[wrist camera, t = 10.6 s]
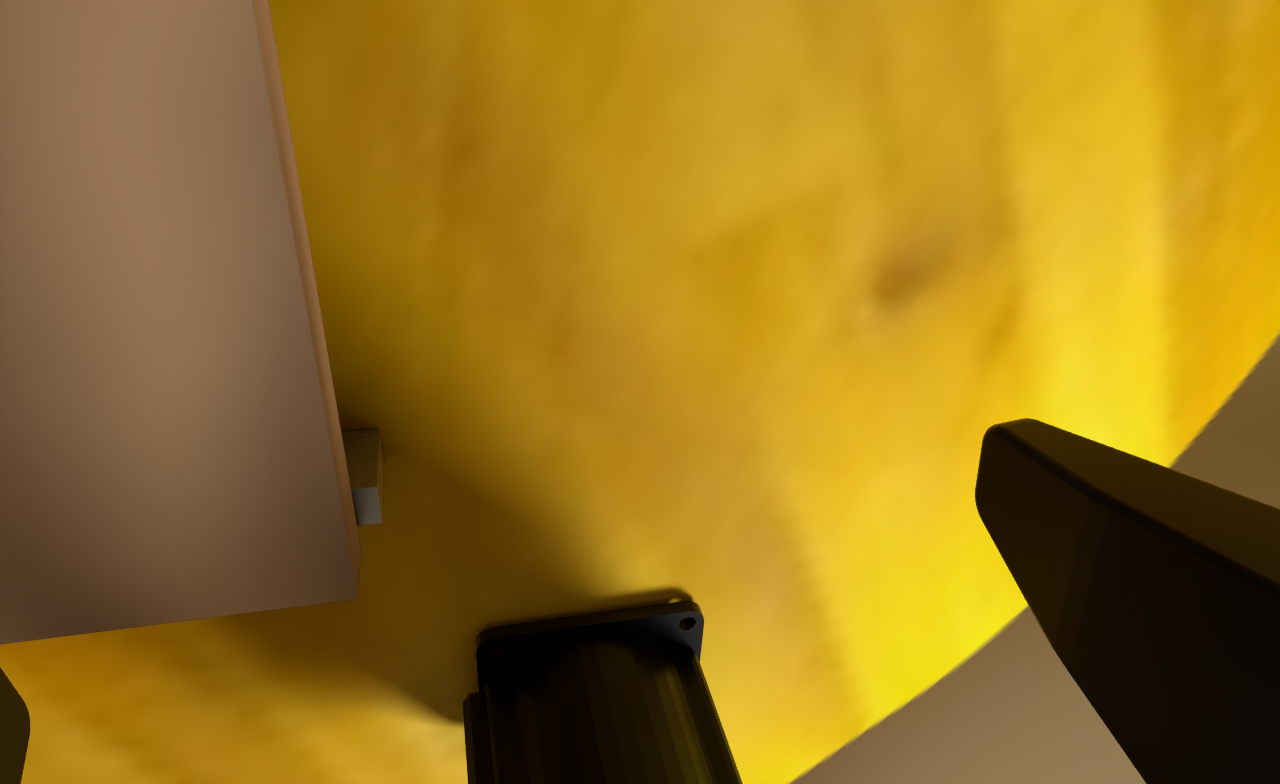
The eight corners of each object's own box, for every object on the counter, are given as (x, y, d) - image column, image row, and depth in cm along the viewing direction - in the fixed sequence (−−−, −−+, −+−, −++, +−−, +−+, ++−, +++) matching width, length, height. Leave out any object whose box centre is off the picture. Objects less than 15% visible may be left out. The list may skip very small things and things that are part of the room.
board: (257, -157, 14) (223, -153, 11) (364, 503, 20) (358, 598, 18) (-557, -191, 12) (-829, -197, 9) (-135, 555, 18) (-222, 672, 16)
